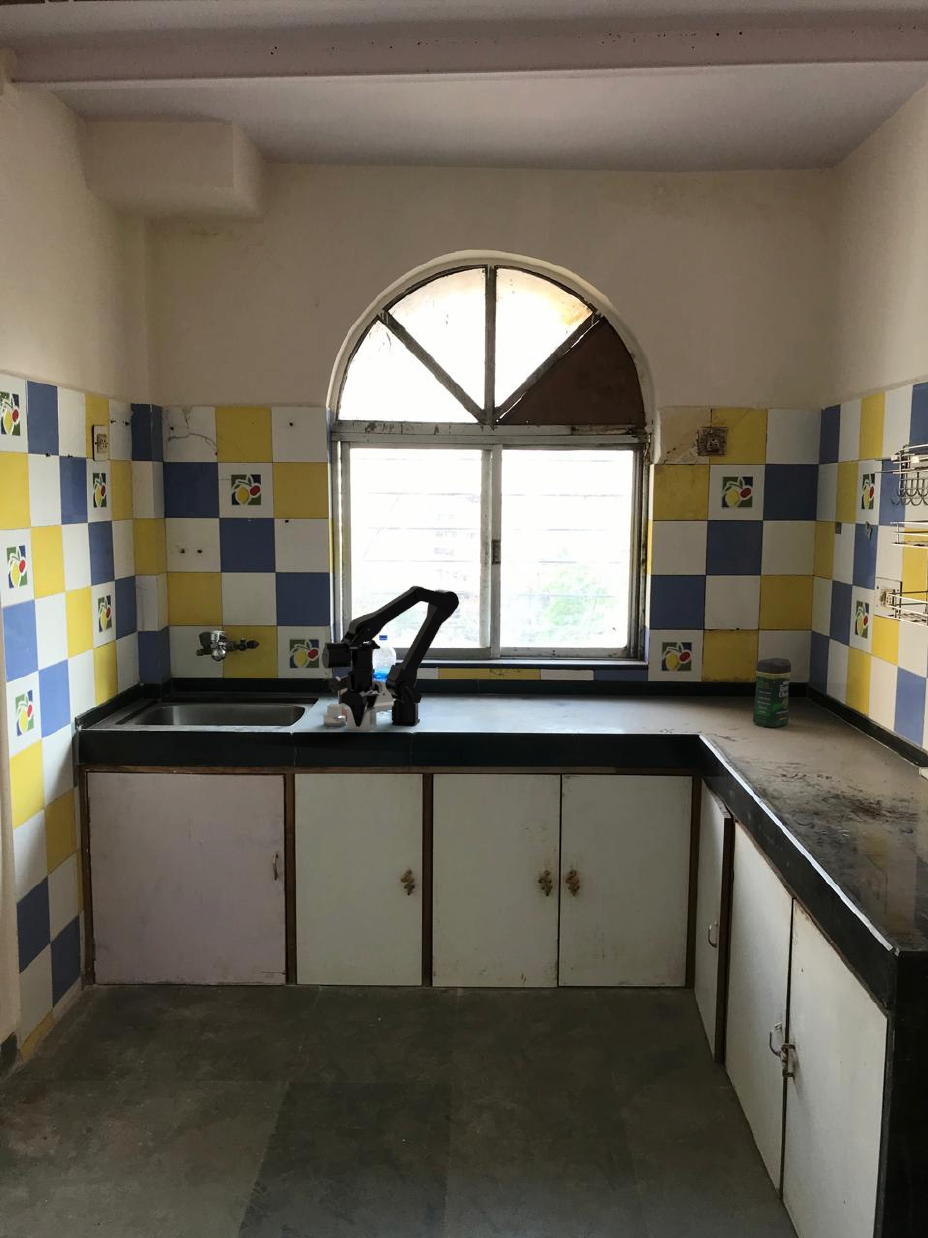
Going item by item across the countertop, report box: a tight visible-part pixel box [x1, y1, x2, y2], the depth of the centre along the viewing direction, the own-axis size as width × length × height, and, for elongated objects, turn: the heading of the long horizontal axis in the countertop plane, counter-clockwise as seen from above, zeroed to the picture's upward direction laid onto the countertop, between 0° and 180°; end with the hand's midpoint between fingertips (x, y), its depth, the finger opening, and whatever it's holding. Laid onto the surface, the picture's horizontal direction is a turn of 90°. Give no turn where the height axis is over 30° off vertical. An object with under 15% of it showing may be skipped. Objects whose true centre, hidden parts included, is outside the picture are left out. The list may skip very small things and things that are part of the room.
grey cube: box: [346, 707, 377, 732], centre depth 259 cm, size 6×6×5 cm
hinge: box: [337, 679, 395, 713], centre depth 280 cm, size 17×5×10 cm, turn 121°
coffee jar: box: [752, 657, 792, 728], centre depth 267 cm, size 10×8×19 cm
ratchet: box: [322, 703, 348, 728], centre depth 264 cm, size 6×12×6 cm, turn 168°
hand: (361, 723), depth 259 cm, fingers closed on grey cube, 6 cm apart
